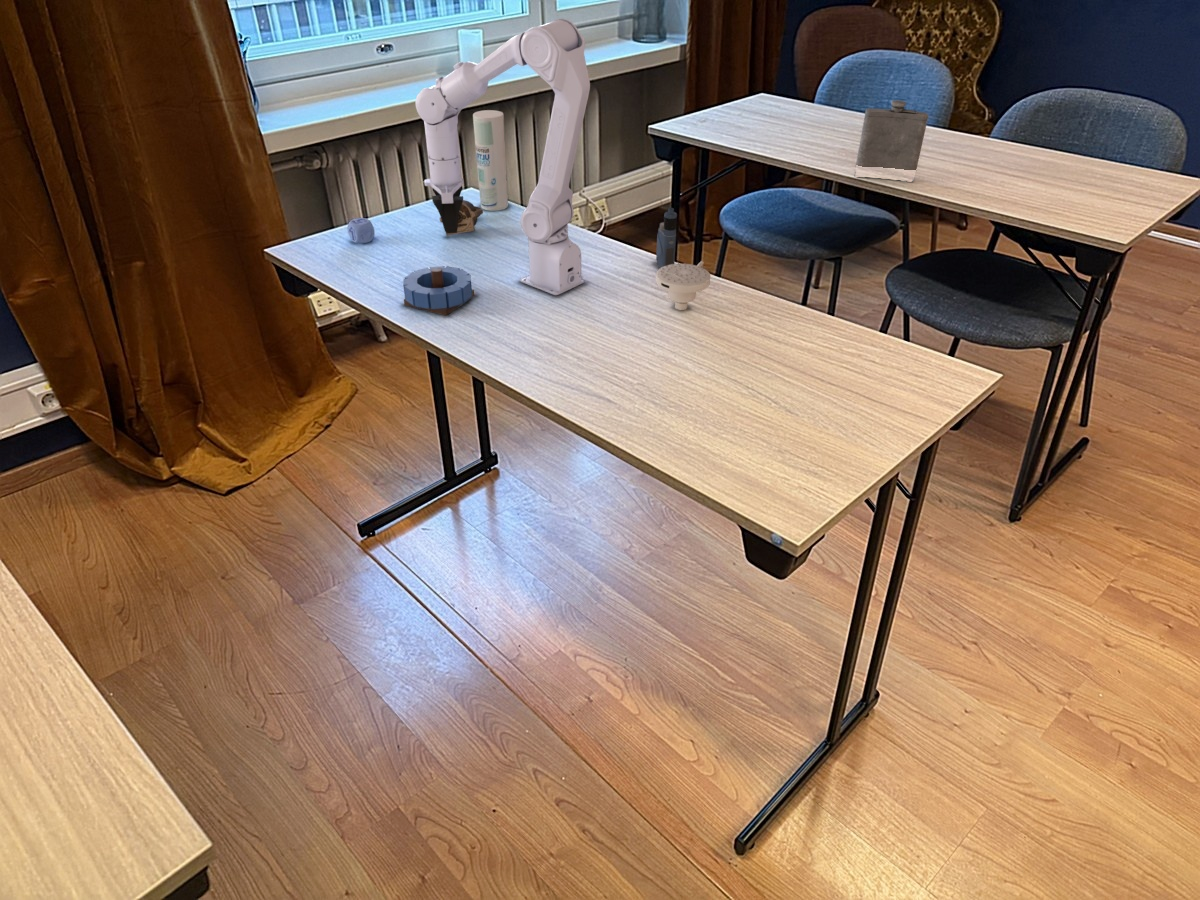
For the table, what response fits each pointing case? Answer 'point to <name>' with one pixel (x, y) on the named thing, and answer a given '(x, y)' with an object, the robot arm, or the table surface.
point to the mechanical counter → (467, 217)
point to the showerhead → (683, 282)
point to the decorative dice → (361, 230)
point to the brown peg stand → (438, 283)
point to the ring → (437, 297)
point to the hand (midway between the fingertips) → (451, 228)
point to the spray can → (491, 159)
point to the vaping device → (666, 239)
